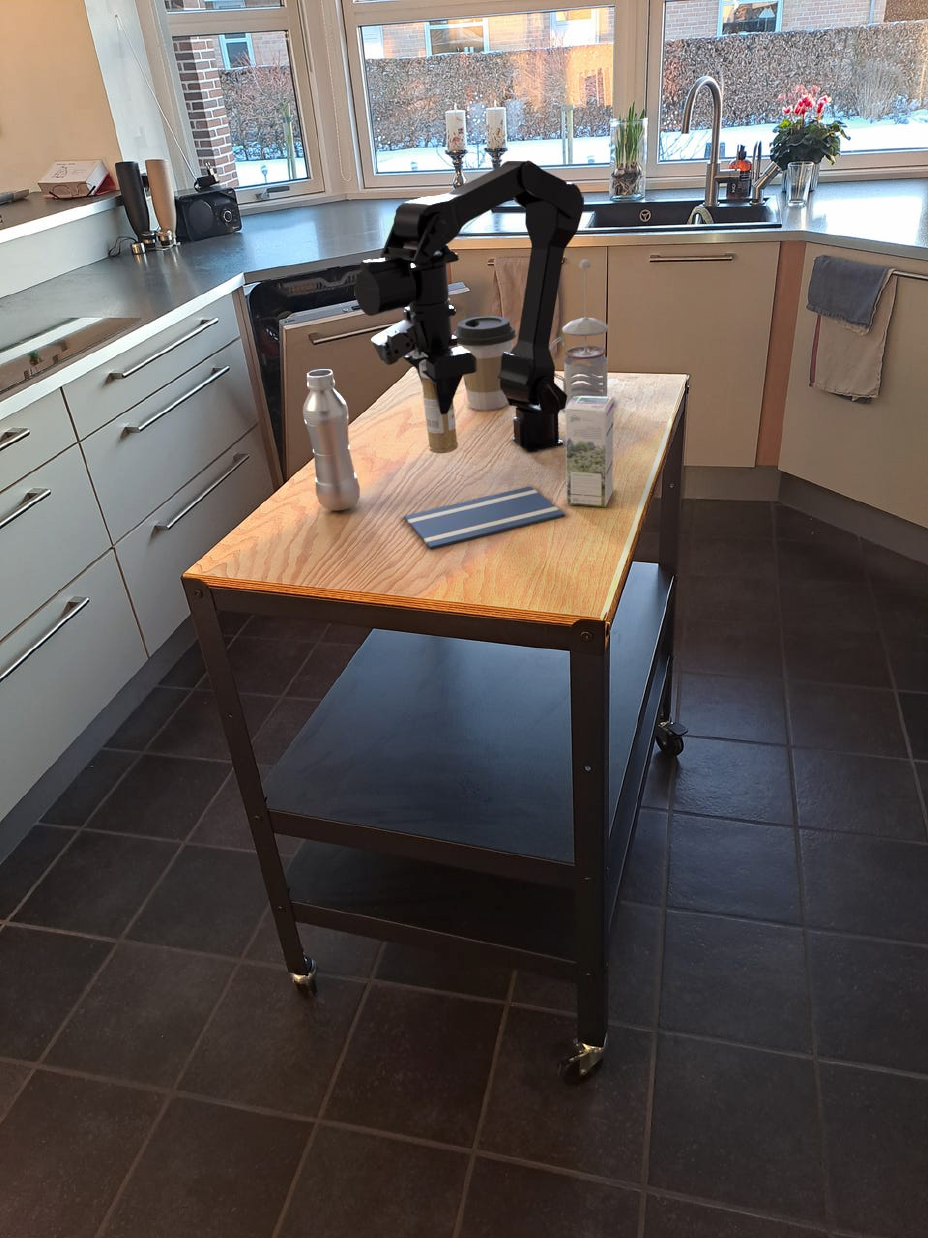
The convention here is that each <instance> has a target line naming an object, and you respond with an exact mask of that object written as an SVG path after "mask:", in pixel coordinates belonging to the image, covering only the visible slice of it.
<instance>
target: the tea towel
mask: <svg viewBox="0 0 928 1238" xmlns="http://www.w3.org/2000/svg"><path fill="white" fill-rule="evenodd" d="M561 517H565V513H564V512H563V511H562V510H561V509H560V508H558V507H557V506H556V505H555V504H553V503H552V502H551V501H550V500H548V499H547V498H546V497H544V495H542V494H541V493H539V492H538V491H537V490H536V489H535V488H533V487H532V486H530V485H529V486H526V487H521V488H517V489H513V490H508V491H505V492H500V493H496V494H492V495H487V496H483V497H477V498H475V499H471V500H466V501H462V502H457V503H454V504H449V505H445V506H441V507H435V508H433V509H428V510H424V511H423V510H422V511H419V512H415V513H410V514H407V515H404V516H403V519H404V520H405V521H406V522H407V523H408V525H409V526H410V528H412V530H414V531H415V533H416V534H417V535H418V536H419V537H420V538H421V540H422V541H423V542H424V543H425V544H426V546H427V547H428V548H429V549H431V550H433V549H437V548H440V547H445V546H448V545H453V544H457V543H461V542H466V541H469V540H474V539H477V538H481V537H485V536H488V535H494V534H497V533H501V532H505V531H510V530H514V529H518V528H521V527H525V526H530V525H533V524H537V523H542V522H546V521H550V520H553V519H557V518H561Z"/></svg>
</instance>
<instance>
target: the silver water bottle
mask: <svg viewBox="0 0 928 1238" xmlns="http://www.w3.org/2000/svg"><path fill="white" fill-rule="evenodd" d="M306 379H307V389H308V390H309V393H308V394H307V397H306V399H305V400H304V401H305V402H304V404H303V406H302V416H303V420H304V423H305V427H306V429H307V432H308V436H309V439H310V443H311V449H312V452H313V453H312V454H313V456H314V458H313V459H314V469H315V495H316V497H317V500H318V503H319V504H320V505H321V507H323V508H324V509H326V510H328V511H344V510H349V509H350V508H353V507H355V506H356V505H357V504H358V502H359V500H360V496H361V487H360V483H359V480H358V477H357V474H356V472H355V468H354V464H353V458H352V454H351V447H350V437H349V407H348V405H347V402H346V401H345V399H344V398H343V397H342V395H341V394H340V393H339V392H337V390H336V389H335V388H334V387H335V386H336V382H335V378H334V373H333V371H332V370H331V369H325V368H324V369H314V370H311V371H309V372H307V373H306Z"/></svg>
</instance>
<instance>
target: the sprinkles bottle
mask: <svg viewBox="0 0 928 1238" xmlns="http://www.w3.org/2000/svg"><path fill="white" fill-rule="evenodd" d="M419 370H420V376H421V379H422V383H421V386H422V394H423V396H422V399H423V407H424V417H425V424H426V431H427V437H428V450H429V452H431V453H434V454H449V453H452V452H454V451H455V450H457V449H458V447H459V442H458V438H457V428H456V425H457V424H456V417H455V415H456V414H455V405H454V400H453V401H452V404H451V406H450V409H449V412H448V413H447V414H441V413H440V411H439V407H438V403H437V399H436V395H435V391H434V386H433V382H432V380H431V379H430V378H428V377H427V376H426V375H425V374H423V373H422V371H425V370H427V368H426V359H425V360H423V361H421V362H420V363H419Z"/></svg>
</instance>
